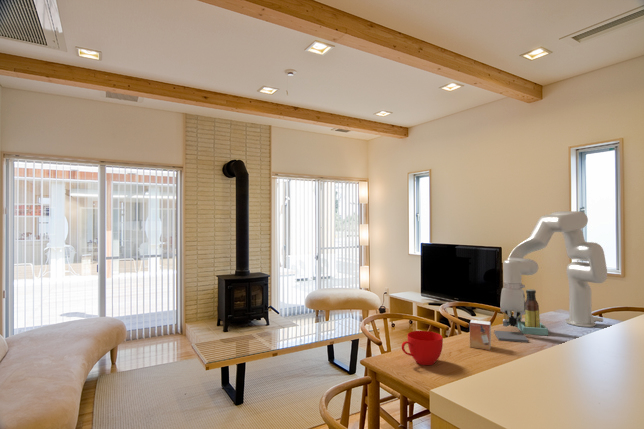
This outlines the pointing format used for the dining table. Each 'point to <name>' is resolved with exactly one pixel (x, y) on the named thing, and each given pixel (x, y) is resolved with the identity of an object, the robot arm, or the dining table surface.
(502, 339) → the pad
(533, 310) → the sauce bottle
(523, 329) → the teal square frame
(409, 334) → the ceramic cup
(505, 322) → the bar
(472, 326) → the small box
